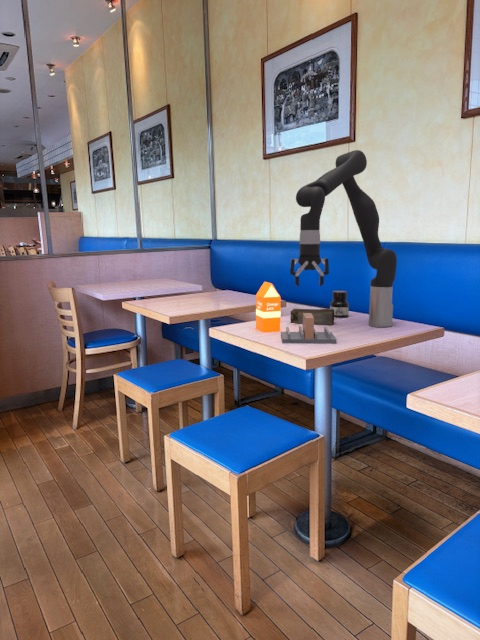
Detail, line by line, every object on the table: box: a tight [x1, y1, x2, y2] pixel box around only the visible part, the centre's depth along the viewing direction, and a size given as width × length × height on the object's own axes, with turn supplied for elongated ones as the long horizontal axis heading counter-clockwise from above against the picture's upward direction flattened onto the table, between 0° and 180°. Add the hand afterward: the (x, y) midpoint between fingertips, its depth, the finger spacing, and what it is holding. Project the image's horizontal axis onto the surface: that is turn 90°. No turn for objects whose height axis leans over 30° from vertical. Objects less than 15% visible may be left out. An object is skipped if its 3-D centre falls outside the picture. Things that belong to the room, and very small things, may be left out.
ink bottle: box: [329, 290, 350, 318], centre depth 231 cm, size 10×9×12 cm
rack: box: [280, 326, 338, 344], centre depth 185 cm, size 20×13×4 cm, turn 88°
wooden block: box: [302, 313, 315, 339], centre depth 183 cm, size 3×10×8 cm, turn 178°
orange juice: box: [255, 281, 282, 334], centre depth 200 cm, size 8×9×20 cm
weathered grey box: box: [290, 308, 335, 326], centre depth 216 cm, size 8×19×7 cm, turn 76°
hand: (309, 286), depth 181 cm, fingers open, 8 cm apart
